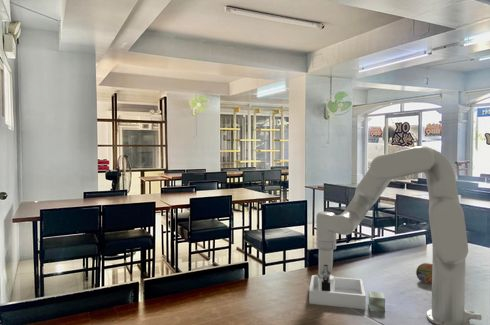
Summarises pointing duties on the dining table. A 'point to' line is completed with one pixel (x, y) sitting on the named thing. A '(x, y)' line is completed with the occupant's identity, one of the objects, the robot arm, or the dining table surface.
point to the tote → (339, 293)
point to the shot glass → (332, 282)
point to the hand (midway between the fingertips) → (326, 286)
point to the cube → (376, 301)
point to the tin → (425, 273)
